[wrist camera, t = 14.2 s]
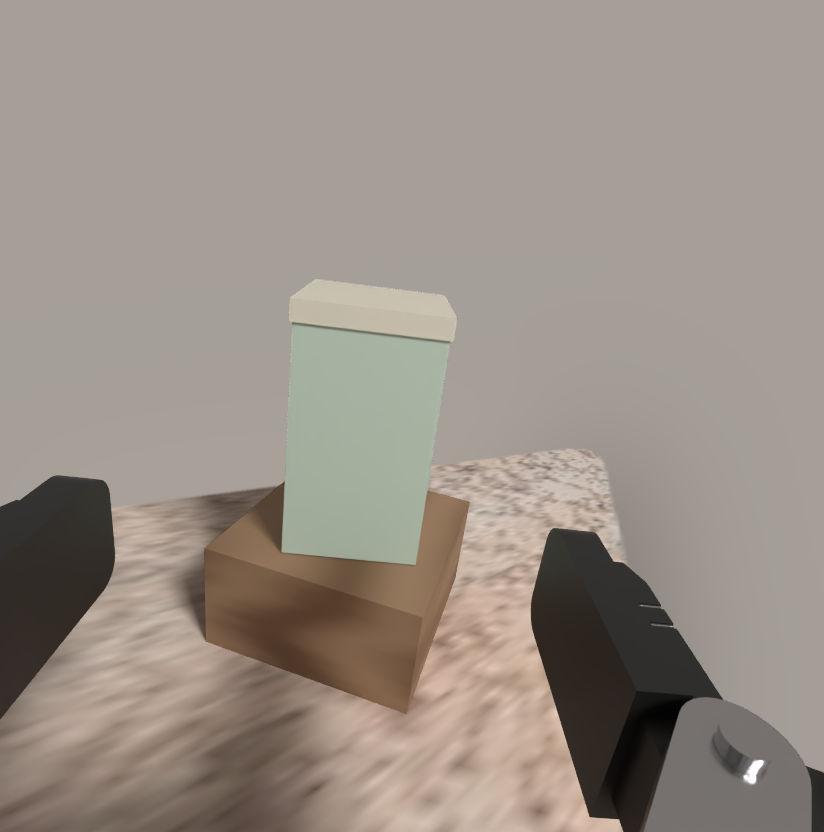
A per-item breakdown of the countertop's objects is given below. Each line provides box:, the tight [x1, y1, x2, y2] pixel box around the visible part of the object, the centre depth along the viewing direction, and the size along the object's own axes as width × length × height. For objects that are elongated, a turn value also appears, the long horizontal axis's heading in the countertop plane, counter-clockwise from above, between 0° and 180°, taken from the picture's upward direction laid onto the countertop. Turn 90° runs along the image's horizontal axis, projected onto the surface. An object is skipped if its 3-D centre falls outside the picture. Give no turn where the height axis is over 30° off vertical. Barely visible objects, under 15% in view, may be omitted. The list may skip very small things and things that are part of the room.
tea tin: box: [281, 279, 457, 565], centre depth 22 cm, size 6×6×10 cm
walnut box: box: [204, 481, 470, 714], centre depth 25 cm, size 9×9×5 cm
